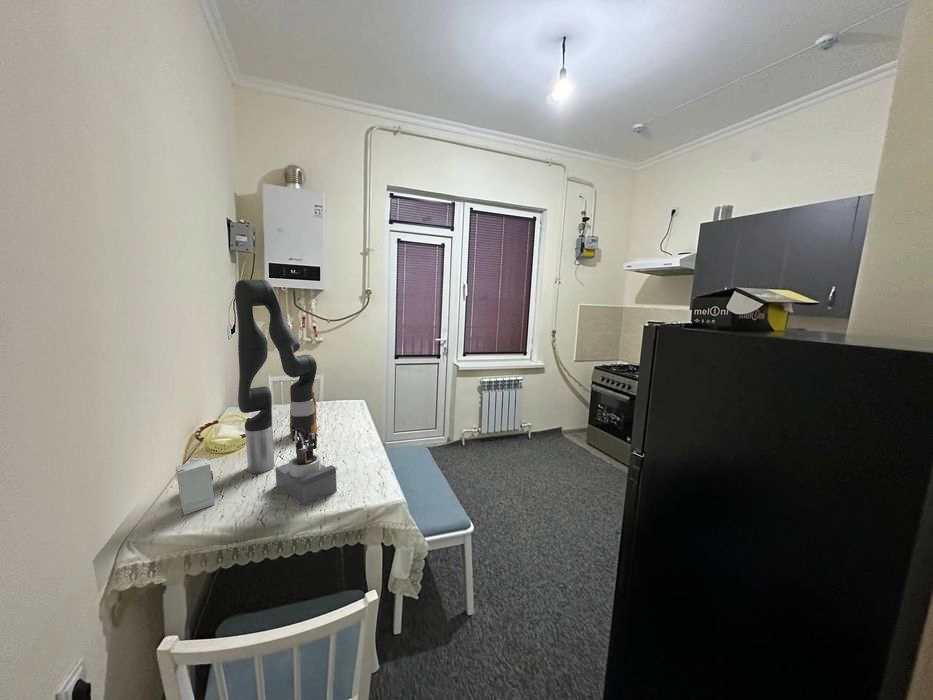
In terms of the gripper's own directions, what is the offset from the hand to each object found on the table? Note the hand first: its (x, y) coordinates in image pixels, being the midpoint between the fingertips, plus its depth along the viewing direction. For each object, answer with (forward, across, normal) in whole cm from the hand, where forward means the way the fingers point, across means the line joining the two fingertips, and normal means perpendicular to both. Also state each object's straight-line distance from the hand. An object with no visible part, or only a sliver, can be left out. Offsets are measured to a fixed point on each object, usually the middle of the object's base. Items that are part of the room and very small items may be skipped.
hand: (304, 456), depth 122 cm
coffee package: (+13, -49, +24) cm, 56 cm away
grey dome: (+2, 0, 0) cm, 2 cm away
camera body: (+12, 0, 0) cm, 12 cm away
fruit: (+12, -28, -24) cm, 39 cm away
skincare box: (+12, -16, -28) cm, 35 cm away
